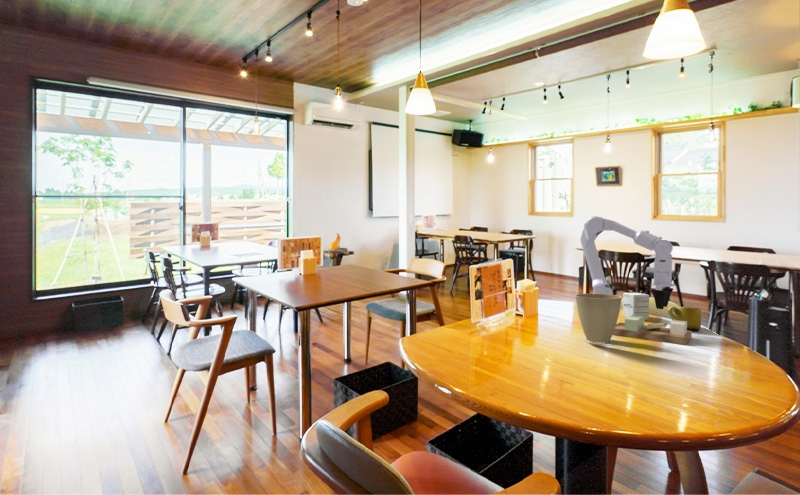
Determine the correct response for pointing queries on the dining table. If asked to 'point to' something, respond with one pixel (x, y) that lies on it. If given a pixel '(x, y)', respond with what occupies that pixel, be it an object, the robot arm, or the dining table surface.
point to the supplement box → (636, 305)
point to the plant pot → (598, 315)
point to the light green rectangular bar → (634, 322)
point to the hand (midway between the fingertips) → (661, 307)
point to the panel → (653, 334)
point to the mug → (687, 316)
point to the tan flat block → (656, 325)
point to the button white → (678, 327)
